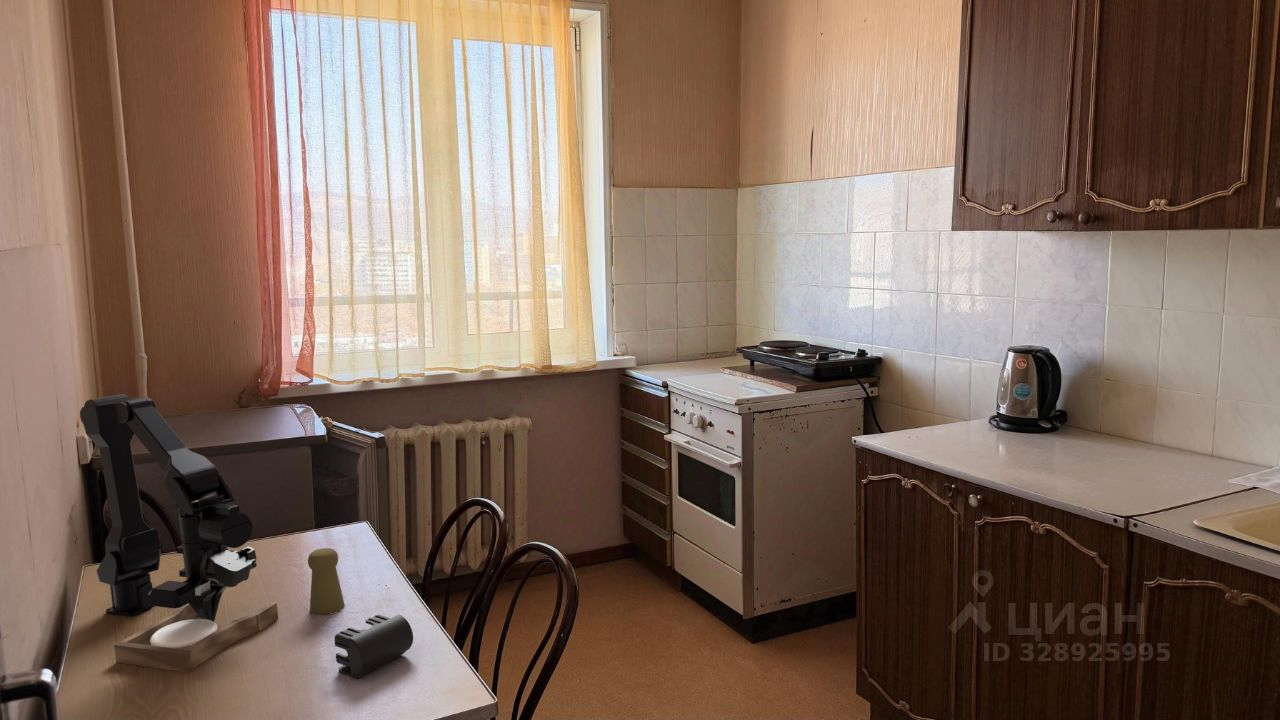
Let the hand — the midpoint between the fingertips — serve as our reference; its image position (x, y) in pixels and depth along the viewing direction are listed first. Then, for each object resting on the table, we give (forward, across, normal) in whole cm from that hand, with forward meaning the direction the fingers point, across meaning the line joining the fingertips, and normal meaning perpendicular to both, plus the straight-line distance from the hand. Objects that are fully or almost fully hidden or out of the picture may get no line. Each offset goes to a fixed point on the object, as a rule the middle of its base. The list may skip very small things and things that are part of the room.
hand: (209, 625), depth 153 cm
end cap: (+2, -4, -35) cm, 35 cm away
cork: (+2, +13, -14) cm, 19 cm away
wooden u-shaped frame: (+1, -3, 0) cm, 3 cm away
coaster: (+2, -6, -1) cm, 7 cm away
